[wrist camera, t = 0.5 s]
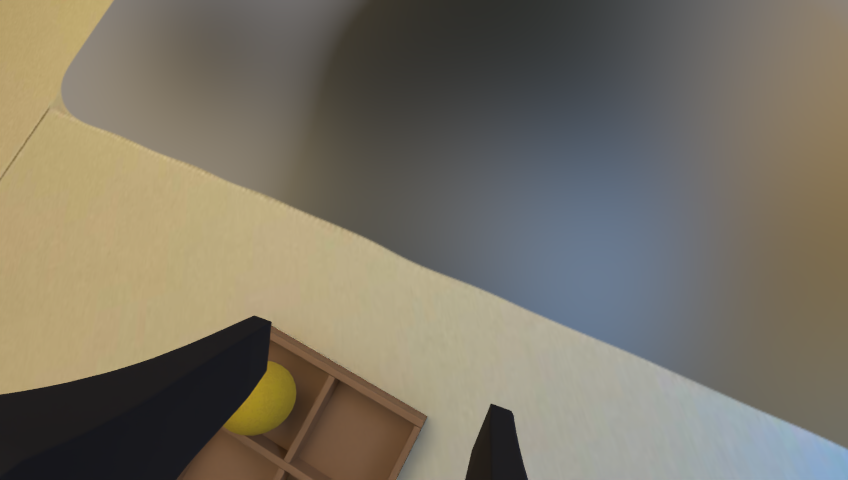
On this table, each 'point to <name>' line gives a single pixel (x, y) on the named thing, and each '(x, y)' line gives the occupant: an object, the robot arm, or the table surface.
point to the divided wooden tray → (317, 429)
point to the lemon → (265, 403)
